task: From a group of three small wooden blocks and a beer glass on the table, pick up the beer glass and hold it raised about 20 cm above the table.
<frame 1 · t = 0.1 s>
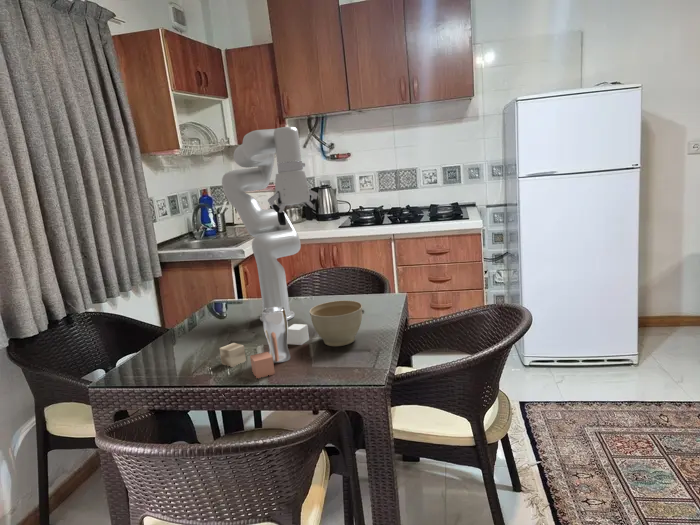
hand: (296, 222, 167), 37 cm above the table, tool pointing down, fingers open, 9 cm apart
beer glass: (280, 359, 153), on the table
planter bowl: (339, 342, 163), on the table
beech block: (234, 362, 154), on the table
rust block: (263, 373, 144), on the table
cream block: (298, 341, 166), on the table
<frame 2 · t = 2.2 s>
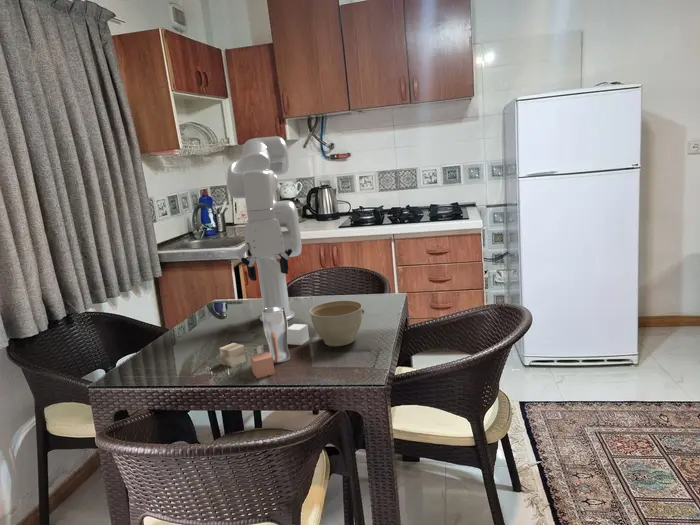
hand: (269, 276, 148), 25 cm above the table, tool pointing down, fingers open, 9 cm apart
nothing on the table moved.
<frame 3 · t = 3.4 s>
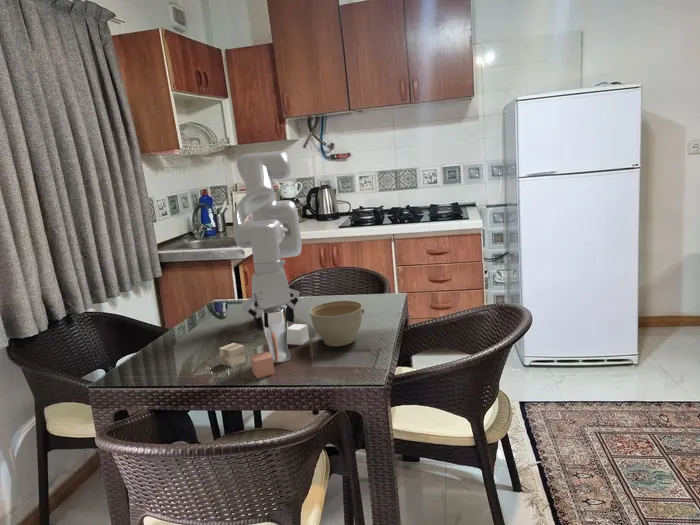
hand: (275, 325, 151), 10 cm above the table, tool pointing down, fingers open, 9 cm apart
nothing on the table moved.
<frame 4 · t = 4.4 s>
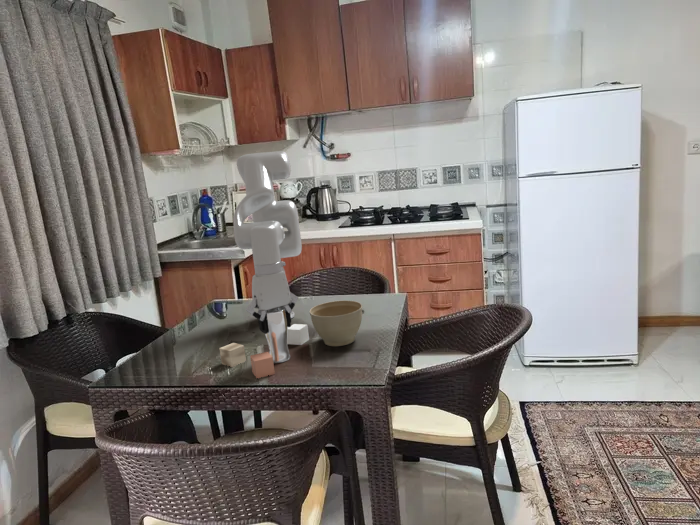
hand: (276, 328, 151), 9 cm above the table, tool pointing down, fingers closed on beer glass, 6 cm apart
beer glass: (280, 359, 153), on the table, touching gripper
everything else where it was.
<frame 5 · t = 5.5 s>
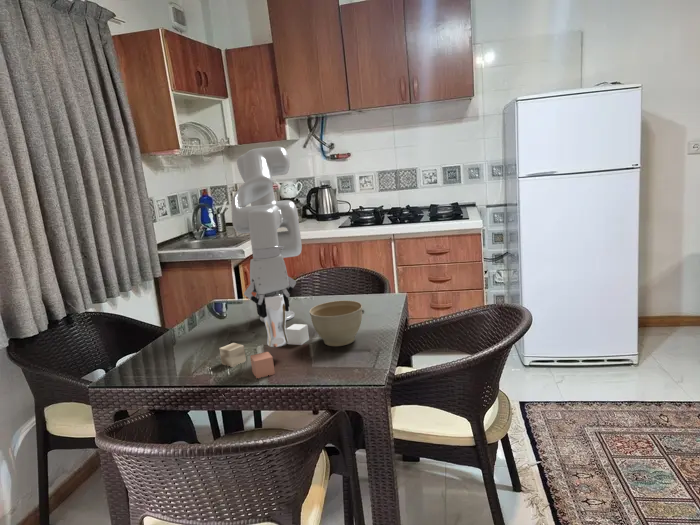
hand: (274, 312, 151), 14 cm above the table, tool pointing down, fingers closed on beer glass, 6 cm apart
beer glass: (278, 343, 153), point 4 cm above the table, touching gripper
everything else where it was.
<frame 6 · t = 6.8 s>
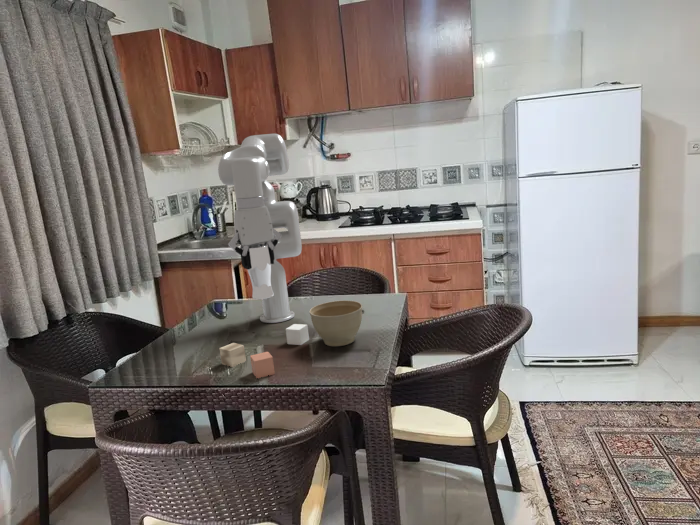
hand: (258, 265, 150), 28 cm above the table, tool pointing down, fingers closed on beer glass, 6 cm apart
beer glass: (263, 297, 152), point 18 cm above the table, touching gripper
everything else where it was.
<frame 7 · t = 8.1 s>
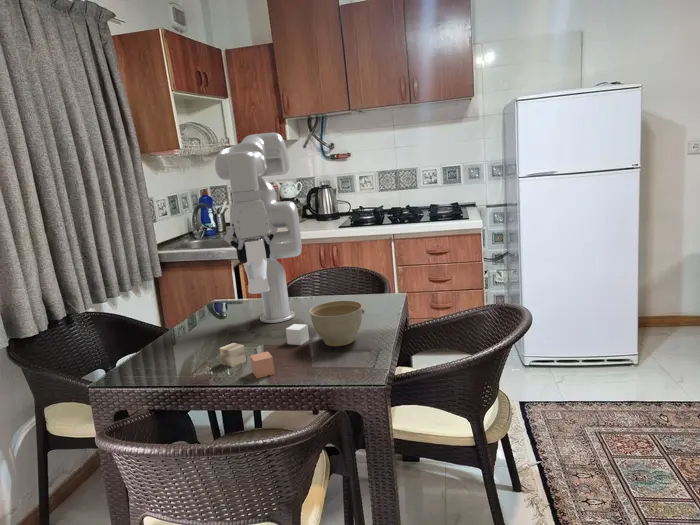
hand: (254, 259, 149), 29 cm above the table, tool pointing down, fingers closed on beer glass, 6 cm apart
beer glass: (259, 291, 151), point 20 cm above the table, touching gripper
everything else where it was.
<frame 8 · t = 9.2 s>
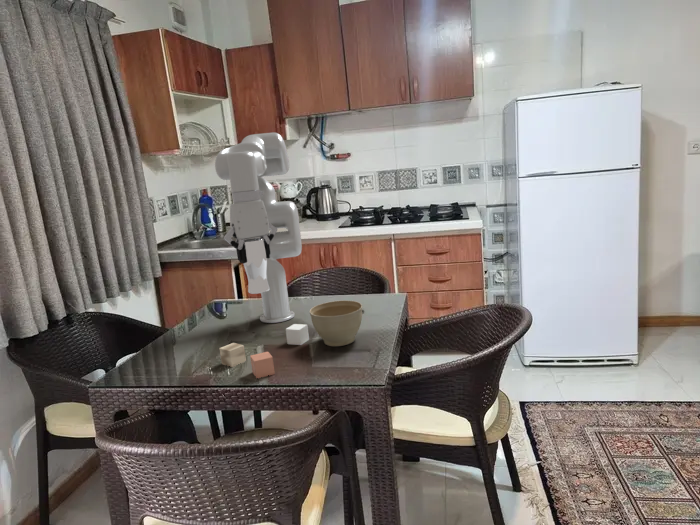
hand: (254, 259, 149), 29 cm above the table, tool pointing down, fingers closed on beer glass, 6 cm apart
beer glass: (259, 291, 151), point 20 cm above the table, touching gripper
everything else where it was.
at the end: the gripper is holding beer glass; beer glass point 20.0 cm above the table; rust block moved 0.1 cm from its start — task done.
